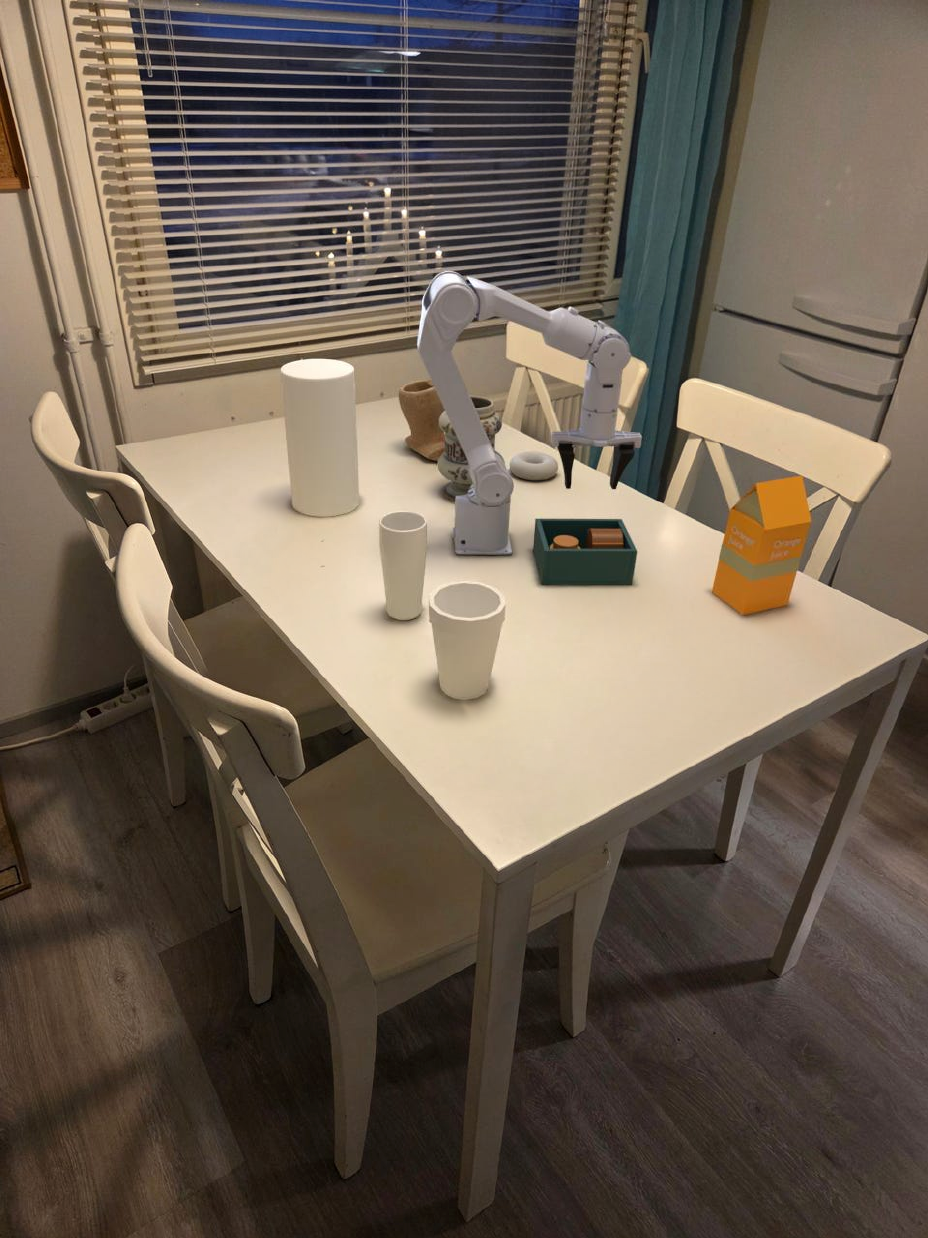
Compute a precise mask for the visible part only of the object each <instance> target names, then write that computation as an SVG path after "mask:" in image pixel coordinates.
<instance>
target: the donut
mask: <svg viewBox="0 0 928 1238" xmlns="http://www.w3.org/2000/svg"><path fill="white" fill-rule="evenodd" d="M509 470H510V472H511V473H512V474H513V475H514V476H515V477H517V478H521V479H523V480H527V481H544V480H548V479H550V478H553V477H554V476H555V475H556V474H557V472H558V471H559V464H558V461H557V459H555V457H553V456H552V455H550V454H548V453H544V452H541V451H523V452H519V453H517V454H515V455H513V457H511V459H510V461H509Z"/></svg>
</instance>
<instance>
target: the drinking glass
mask: <svg viewBox="0 0 928 1238" xmlns="http://www.w3.org/2000/svg"><path fill="white" fill-rule="evenodd" d="M378 542H379V543H378V546H379V555H380V563H381V571H382V580H383V587H384V595H385V611H386V613H387V615H388V616H389V617H390V618H392V619H394V620H397V621H409V620H413V619H416V618H418V617H419V615H421V614H422V611H423V594H424V582H425V576H426V575H425V574H426V573H425V572H426V563H427V555H428V521H427V518H425V516H424V515H422V514H420V513H418V512H414V511H408V510H407V511H406V510H401V511H400V510H398V511H393V512H389V513H386V514H384V515H382V516H381V517H380V519H379V524H378Z"/></svg>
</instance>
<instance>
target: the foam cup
mask: <svg viewBox="0 0 928 1238" xmlns="http://www.w3.org/2000/svg"><path fill="white" fill-rule="evenodd" d="M506 605H507V604H506V599H505V595H504V594H503V593H502V592H501V591H500V590H498V589H497V588H496V587H495V586H492V585H489V584H486V583H484V582H480V581H470V580H460V581H450V582H446V583H445V584H444V583H443V584H442V585H440V586H437V587H435V588H434V590H433V591H431V593H430V594H429V596H428V618H429V622H430V624H431V629H432V636H433V643H434V650H435V658H436V666H437V672H438V678H439V680H438V681H439V686H440V690H441V691H442V692H443V693H444V695H446V696H447V697H450V698H452V699H455V700H463V701H468V700H475V699H477V698H479V697H481V696H483V695H485V694H486V692H487V690H488V688H489V685H490V680H491V677H492V672H493V667H494V664H495V663H494V662H495V659H496V655H497V654H496V653H497V649H498V644H499V641H500V636H501V630H502V627H503V623H504V622H505V619H506Z"/></svg>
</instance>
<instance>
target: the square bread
mask: <svg viewBox="0 0 928 1238" xmlns="http://www.w3.org/2000/svg"><path fill="white" fill-rule="evenodd" d="M623 545H624V544H623V534H622V531H621V529H589V530H588V531H587V538H586V546H585V549H623Z"/></svg>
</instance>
